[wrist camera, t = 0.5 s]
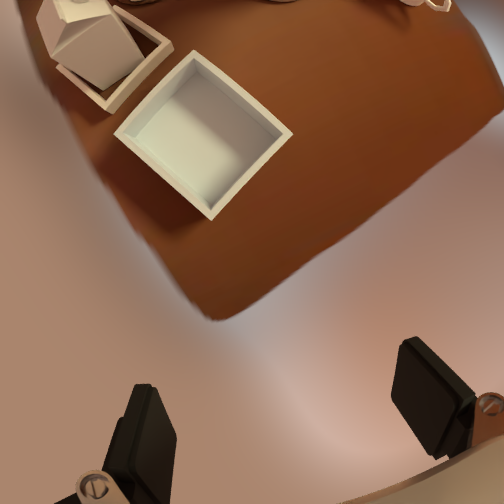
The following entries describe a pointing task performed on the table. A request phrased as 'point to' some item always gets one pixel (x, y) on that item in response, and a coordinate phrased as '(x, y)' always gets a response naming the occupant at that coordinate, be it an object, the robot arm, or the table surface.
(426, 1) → the mug
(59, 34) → the milk carton
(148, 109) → the tub
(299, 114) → the table surface
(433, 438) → the robot arm
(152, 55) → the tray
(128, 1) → the skull
